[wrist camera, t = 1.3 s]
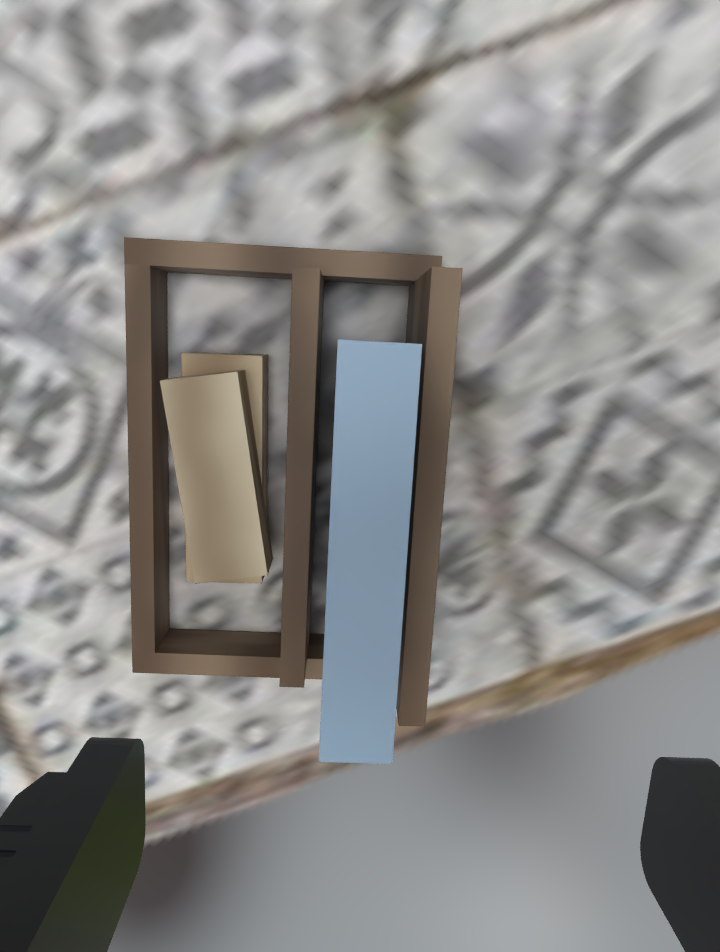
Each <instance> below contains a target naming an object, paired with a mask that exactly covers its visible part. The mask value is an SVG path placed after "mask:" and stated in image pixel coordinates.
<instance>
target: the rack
mask: <svg viewBox="0 0 720 952" xmlns="http://www.w3.org/2000/svg"><path fill="white" fill-rule="evenodd" d="M124 256H125V307H126V359H127V410H128V461H129V512H130V563H131V615H132V666H133V673H161V674H188V675H216V676H243V677H271V678H280V687H304V681H305V679H322V678H323V656H324V635H320V634H310V621H311V596H312V571H313V546H314V522H315V497H316V472H317V447H318V423H319V398H320V373H321V348H322V323H323V299H324V281H331V282H349V283H366V284H383V285H401V286H409V299H408V314H407V330H406V343H412V344H422V354H421V368H420V382H419V396H418V410H417V425H416V439H415V453H414V467H413V481H412V495H411V509H410V523H409V537H408V551H407V565H406V579H405V593H404V607H403V621H402V635H401V649H400V663H399V677H398V691H397V705H396V709H397V716H398V723H399V726H425V721H426V709H427V697H428V684H429V672H430V660H431V648H432V635H433V623H434V611H435V599H436V586H437V574H438V562H439V550H440V537H441V525H442V513H443V501H444V488H445V476H446V464H447V451H448V439H449V427H450V415H451V402H452V390H453V378H454V366H455V353H456V341H457V329H458V317H459V304H460V292H461V280H462V268H447V267H441V265H442V256H430V255H413V254H396V253H379V252H363V251H346V250H329V249H312V248H295V247H278V246H261V245H244V244H227V243H210V242H193V241H177V240H160V239H143V238H126V237H124ZM167 272H175V273H192V274H209V275H227V276H244V277H262V278H279V279H292V297H291V330H290V363H289V395H288V428H287V460H286V493H285V526H284V558H283V591H282V623H281V633H268V632H242V631H216V630H190V629H169V490H168V425H167V419H166V413H165V408H164V402H163V396H162V390H161V385H160V381H161V380H165V379H168V344H167Z"/></svg>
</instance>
